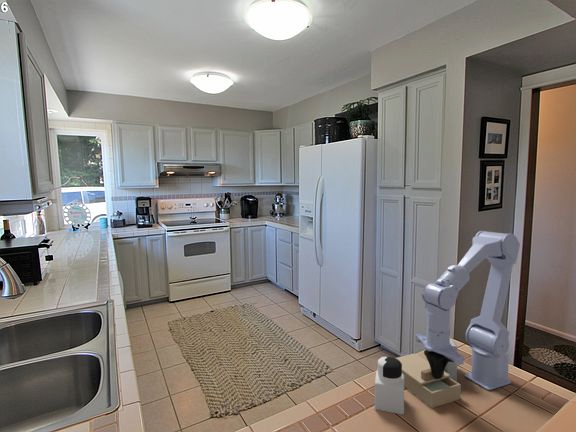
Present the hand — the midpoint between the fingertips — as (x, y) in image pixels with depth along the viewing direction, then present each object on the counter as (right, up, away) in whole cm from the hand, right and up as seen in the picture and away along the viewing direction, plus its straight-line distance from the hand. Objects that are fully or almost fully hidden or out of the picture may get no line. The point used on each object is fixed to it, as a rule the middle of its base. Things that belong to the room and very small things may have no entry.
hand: (437, 377), depth 88 cm
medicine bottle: (-14, -6, -2) cm, 15 cm away
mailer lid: (-3, -1, +7) cm, 7 cm away
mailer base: (-1, -5, +3) cm, 6 cm away
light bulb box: (+7, -5, +13) cm, 15 cm away
